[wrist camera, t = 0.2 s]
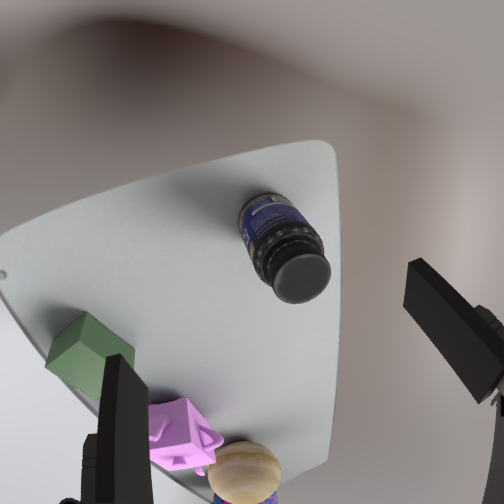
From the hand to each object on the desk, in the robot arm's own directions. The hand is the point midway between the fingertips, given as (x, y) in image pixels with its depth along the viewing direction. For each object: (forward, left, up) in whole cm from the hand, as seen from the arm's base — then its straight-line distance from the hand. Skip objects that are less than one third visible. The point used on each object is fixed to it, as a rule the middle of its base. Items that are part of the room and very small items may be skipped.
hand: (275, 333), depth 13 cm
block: (+15, -22, -20) cm, 33 cm away
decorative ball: (+55, -12, -20) cm, 59 cm away
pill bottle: (+5, +4, -20) cm, 21 cm away
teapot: (+35, -18, -20) cm, 44 cm away
